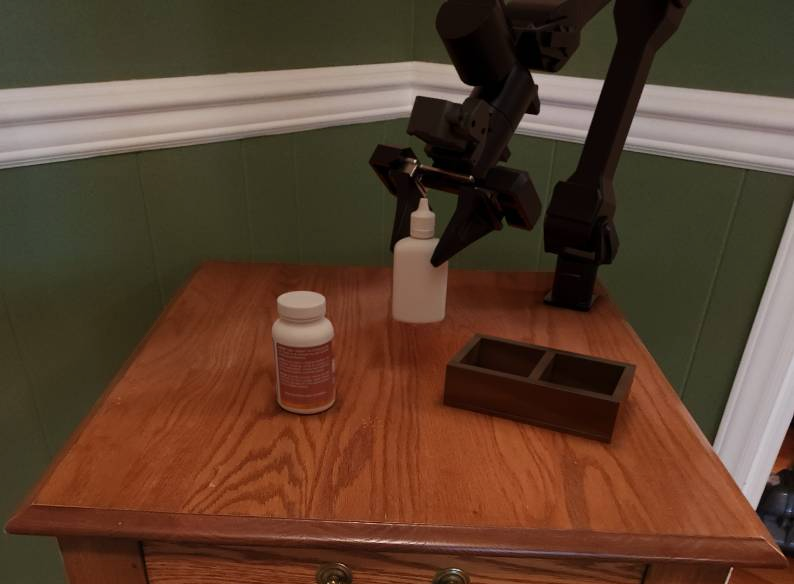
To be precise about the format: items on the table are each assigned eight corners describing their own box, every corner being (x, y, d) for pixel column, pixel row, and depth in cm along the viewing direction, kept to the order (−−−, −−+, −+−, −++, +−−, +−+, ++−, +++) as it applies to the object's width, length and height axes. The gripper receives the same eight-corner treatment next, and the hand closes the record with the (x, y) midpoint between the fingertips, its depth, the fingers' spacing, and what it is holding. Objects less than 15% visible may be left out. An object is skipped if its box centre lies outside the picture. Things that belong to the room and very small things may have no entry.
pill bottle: (346, 407, 76) (345, 303, 70) (294, 421, 74) (287, 315, 67) (317, 384, 80) (314, 283, 74) (267, 397, 78) (258, 294, 71)
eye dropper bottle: (404, 306, 81) (408, 190, 73) (450, 316, 79) (459, 198, 71) (385, 319, 78) (388, 199, 70) (432, 330, 76) (440, 208, 68)
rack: (471, 370, 84) (476, 332, 82) (626, 404, 79) (637, 364, 76) (442, 404, 78) (446, 364, 75) (609, 444, 72) (620, 402, 69)
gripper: (381, 49, 71) (304, 190, 71) (545, 68, 61) (455, 231, 62) (428, 130, 81) (360, 254, 81) (576, 157, 71) (497, 298, 72)
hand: (412, 258), depth 74 cm, fingers closed on eye dropper bottle, 5 cm apart
